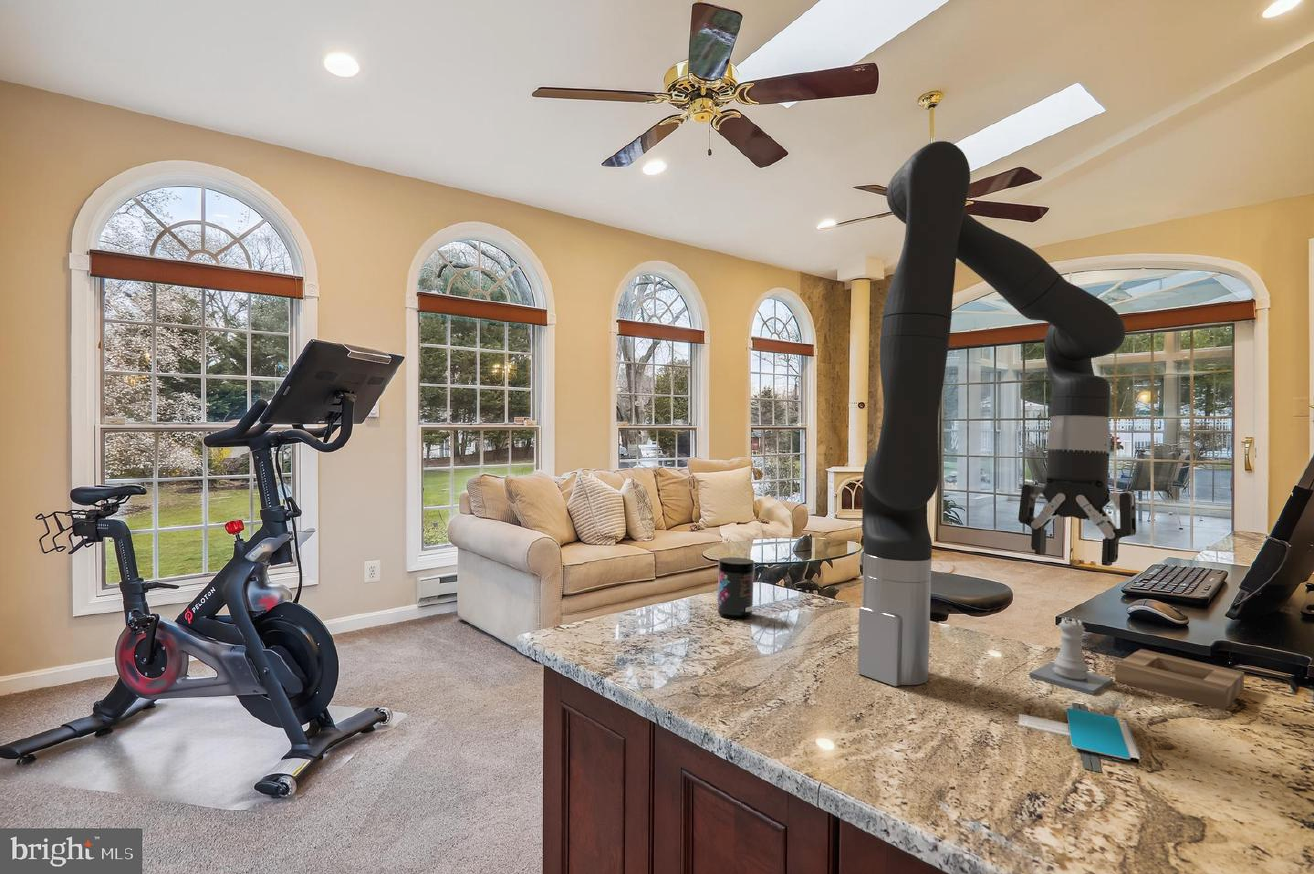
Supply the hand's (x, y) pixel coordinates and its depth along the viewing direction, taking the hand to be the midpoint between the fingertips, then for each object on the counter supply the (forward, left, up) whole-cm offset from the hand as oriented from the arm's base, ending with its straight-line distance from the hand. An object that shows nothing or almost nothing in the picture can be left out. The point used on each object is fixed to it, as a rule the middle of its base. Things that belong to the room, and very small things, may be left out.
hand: (1072, 559), depth 92 cm
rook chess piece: (0, 0, -17) cm, 17 cm away
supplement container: (-17, +51, -18) cm, 56 cm away
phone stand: (-19, -7, -18) cm, 27 cm away
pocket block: (+11, -10, -17) cm, 23 cm away
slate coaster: (0, 0, -17) cm, 17 cm away
